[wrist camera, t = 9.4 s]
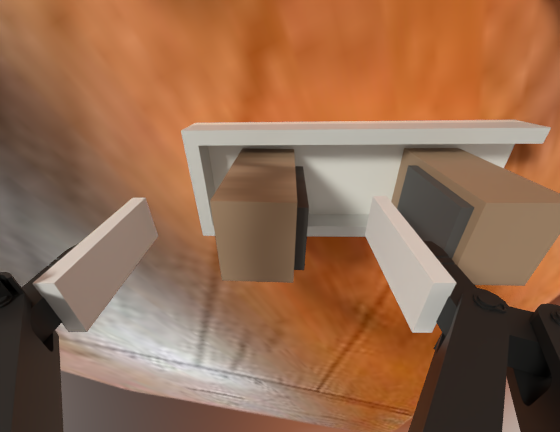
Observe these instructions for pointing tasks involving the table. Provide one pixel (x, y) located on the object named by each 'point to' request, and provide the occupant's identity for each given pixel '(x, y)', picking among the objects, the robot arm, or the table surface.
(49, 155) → the table surface
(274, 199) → the block
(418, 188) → the rail
